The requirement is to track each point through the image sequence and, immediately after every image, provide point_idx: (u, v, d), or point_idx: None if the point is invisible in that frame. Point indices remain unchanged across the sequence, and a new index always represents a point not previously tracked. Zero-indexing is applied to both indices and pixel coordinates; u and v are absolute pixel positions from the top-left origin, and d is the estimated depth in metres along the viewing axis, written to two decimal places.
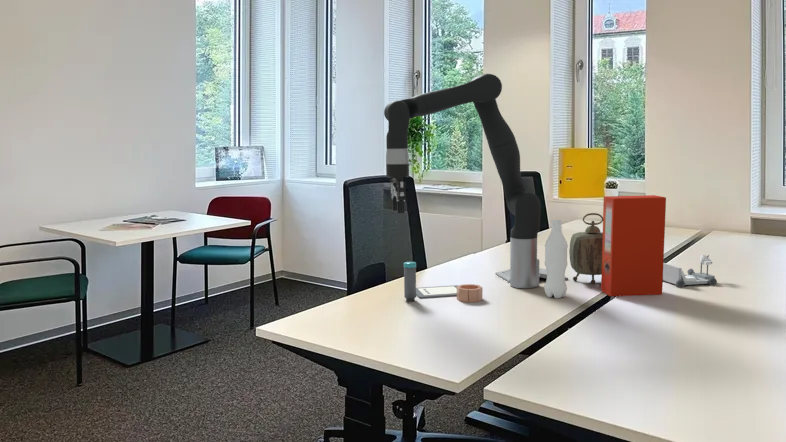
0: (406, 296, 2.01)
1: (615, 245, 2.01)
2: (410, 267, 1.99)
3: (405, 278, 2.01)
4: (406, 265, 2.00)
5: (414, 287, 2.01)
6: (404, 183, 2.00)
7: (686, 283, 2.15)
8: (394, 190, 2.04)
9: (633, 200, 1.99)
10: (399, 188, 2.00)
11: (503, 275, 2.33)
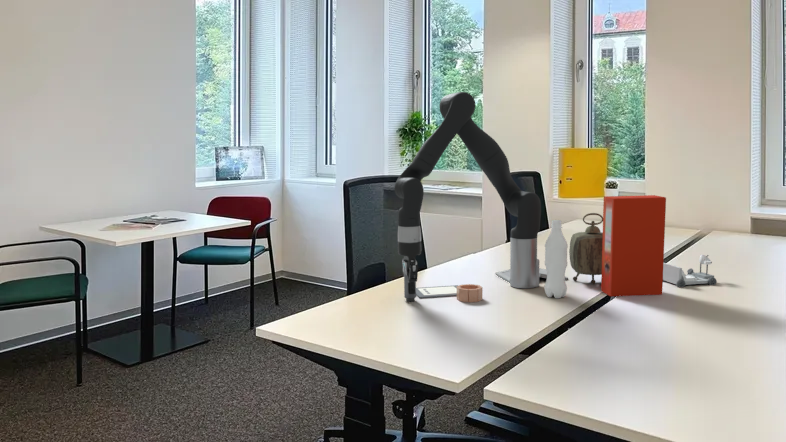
0: (406, 296, 2.01)
1: (615, 245, 2.01)
2: None
3: (405, 278, 2.01)
4: None
5: None
6: (417, 268, 1.95)
7: (686, 283, 2.15)
8: (406, 270, 1.99)
9: (633, 200, 1.99)
10: (411, 272, 1.95)
11: (503, 275, 2.33)
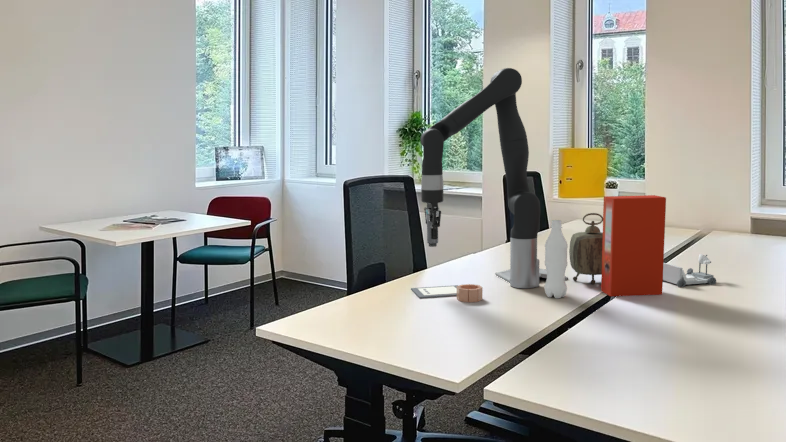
0: (429, 241, 2.14)
1: (615, 245, 2.01)
2: None
3: (428, 224, 2.13)
4: None
5: None
6: (440, 213, 2.08)
7: (687, 283, 2.16)
8: (429, 216, 2.12)
9: (633, 200, 1.99)
10: (434, 217, 2.08)
11: (503, 275, 2.32)
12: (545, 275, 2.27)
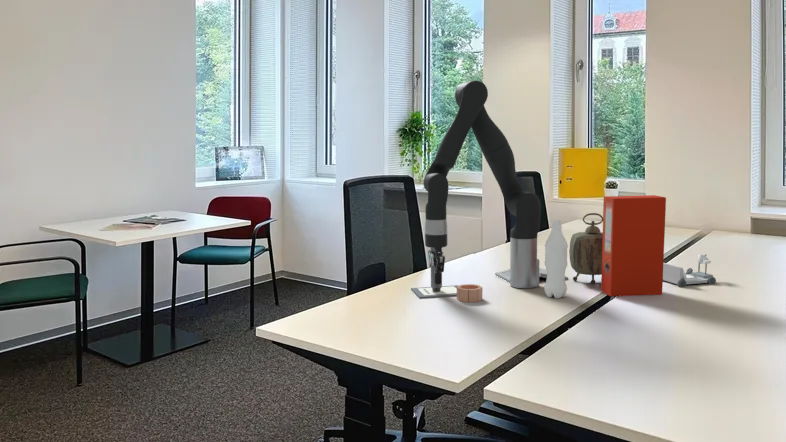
0: (432, 286, 2.11)
1: (615, 245, 2.01)
2: None
3: (432, 269, 2.10)
4: None
5: None
6: (443, 259, 2.05)
7: (687, 282, 2.16)
8: (433, 261, 2.09)
9: (633, 200, 1.99)
10: (438, 263, 2.05)
11: (503, 275, 2.32)
12: (545, 275, 2.27)
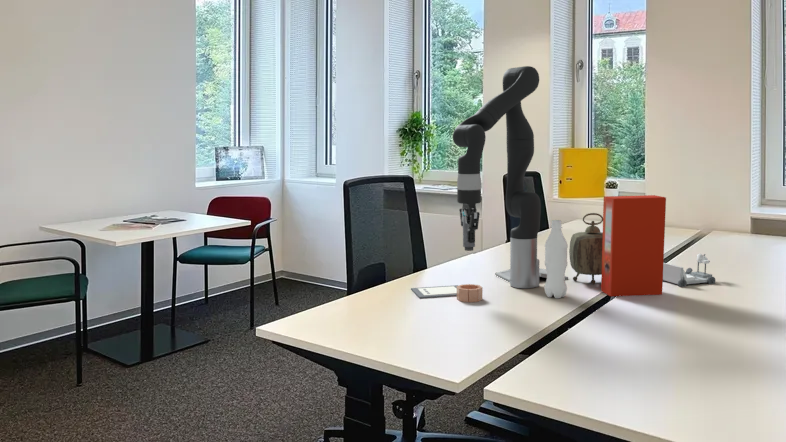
0: (465, 245, 2.00)
1: (615, 245, 2.01)
2: None
3: (464, 227, 1.99)
4: None
5: None
6: (478, 215, 1.94)
7: (687, 282, 2.16)
8: (466, 218, 1.98)
9: (633, 200, 1.99)
10: (472, 219, 1.94)
11: (503, 275, 2.32)
12: (545, 275, 2.27)
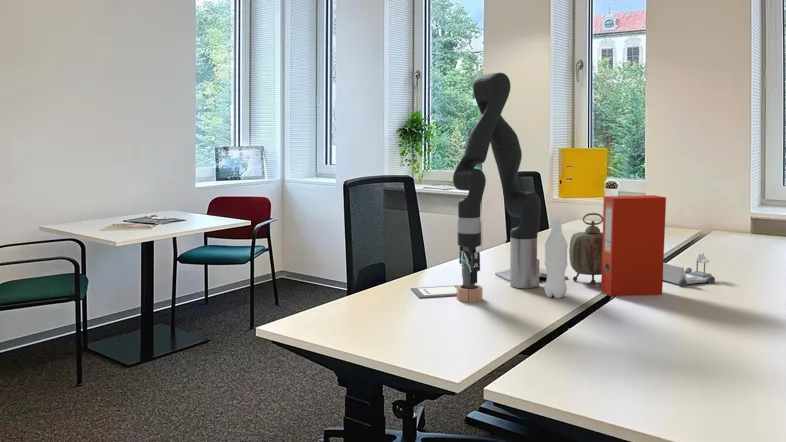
0: None
1: (615, 245, 2.01)
2: None
3: (464, 274, 2.01)
4: (465, 261, 2.01)
5: None
6: (478, 254, 1.95)
7: (688, 282, 2.16)
8: (467, 260, 1.98)
9: (633, 200, 1.99)
10: (473, 259, 1.95)
11: (504, 275, 2.32)
12: (546, 275, 2.27)
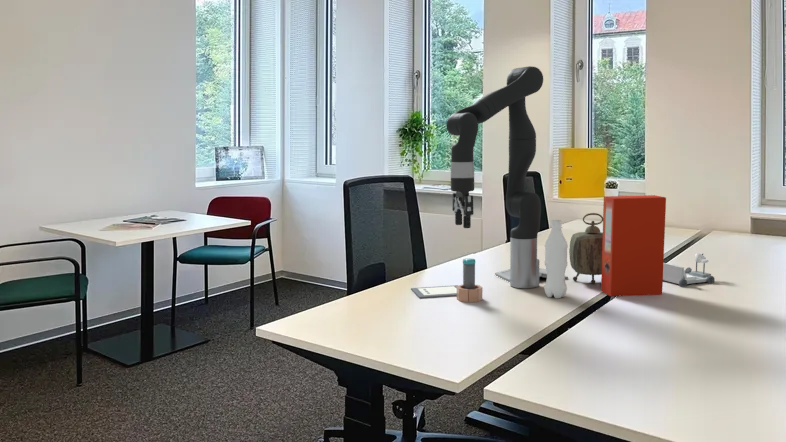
0: None
1: (615, 245, 2.01)
2: (470, 264, 2.00)
3: (464, 275, 2.01)
4: (466, 262, 2.00)
5: (473, 284, 2.01)
6: (472, 198, 1.95)
7: (688, 282, 2.17)
8: (460, 204, 1.98)
9: (633, 200, 1.99)
10: (467, 203, 1.94)
11: (504, 275, 2.32)
12: (546, 275, 2.27)
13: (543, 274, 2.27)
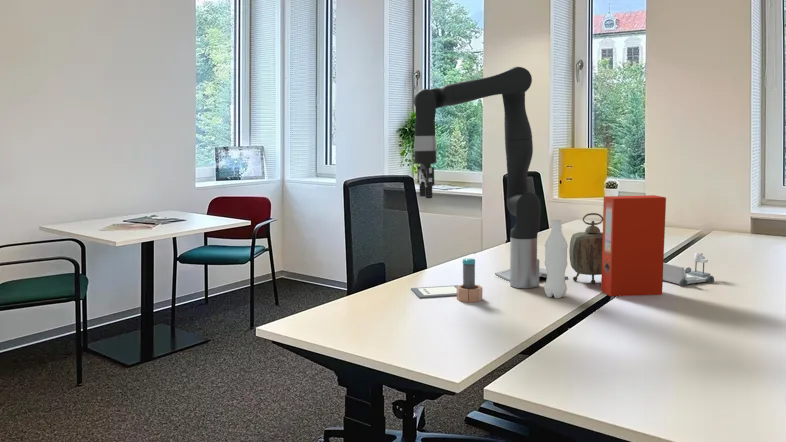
0: None
1: (615, 245, 2.01)
2: (469, 264, 2.00)
3: (464, 275, 2.01)
4: (466, 262, 2.00)
5: (473, 284, 2.01)
6: (433, 169, 2.06)
7: (688, 282, 2.17)
8: (422, 176, 2.10)
9: (633, 200, 1.99)
10: (428, 174, 2.06)
11: (504, 275, 2.32)
12: (546, 275, 2.28)
13: (543, 274, 2.27)
